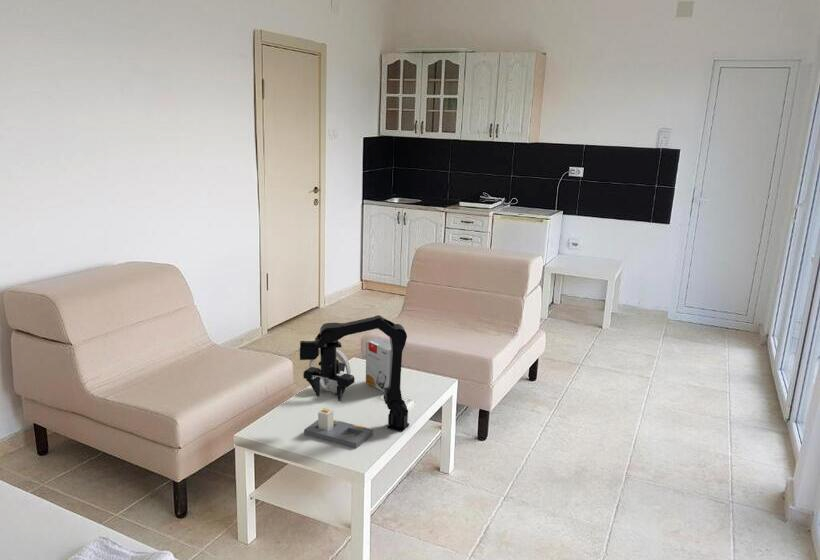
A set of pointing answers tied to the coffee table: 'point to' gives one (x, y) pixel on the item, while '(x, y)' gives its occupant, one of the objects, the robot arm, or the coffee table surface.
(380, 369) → the hard drive box
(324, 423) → the plug
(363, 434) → the panel
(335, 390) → the headphones
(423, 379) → the coffee table surface
